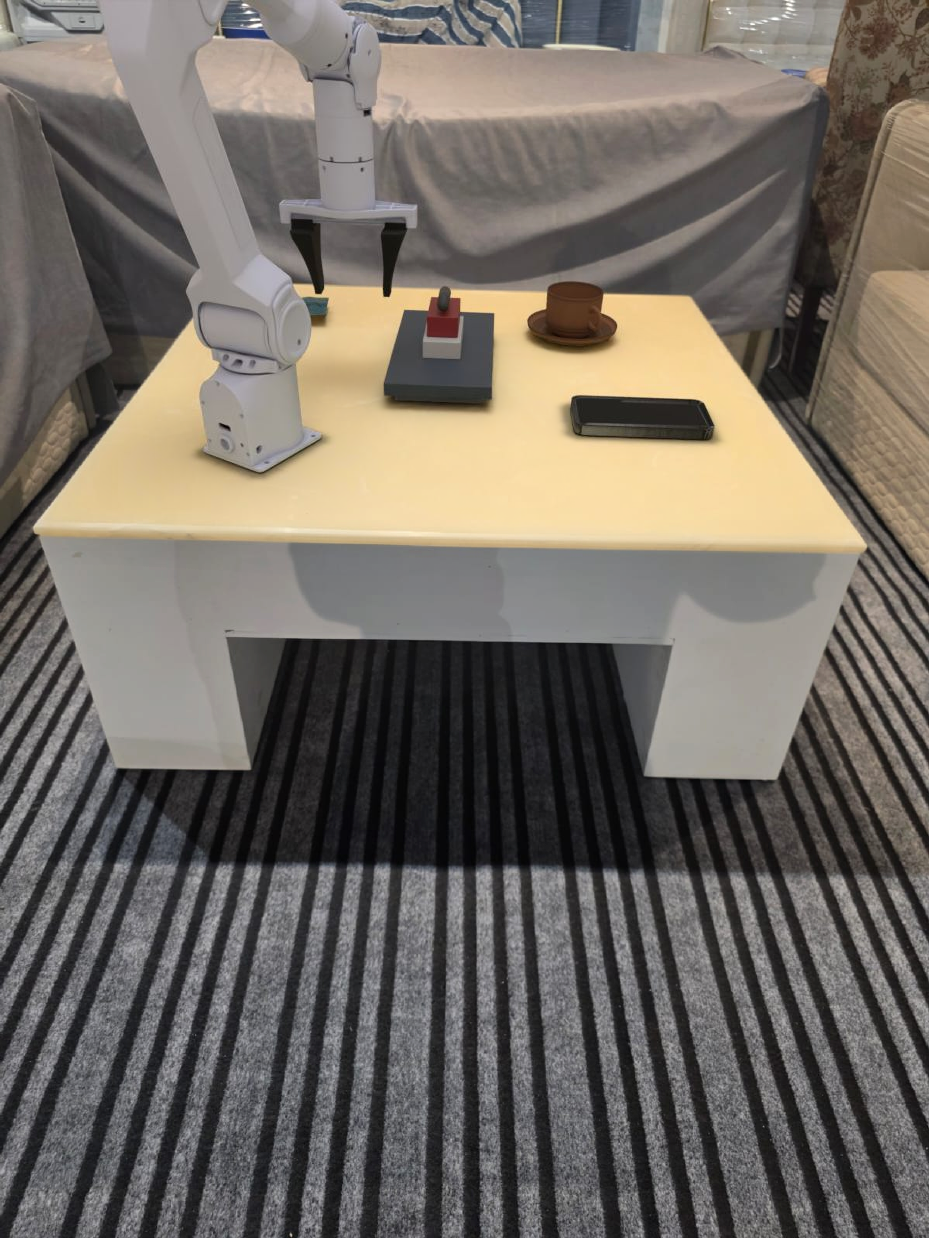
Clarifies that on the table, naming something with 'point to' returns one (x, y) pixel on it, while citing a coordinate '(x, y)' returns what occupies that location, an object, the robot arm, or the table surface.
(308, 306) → the terrain model
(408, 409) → the table surface
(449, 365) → the grey base platform
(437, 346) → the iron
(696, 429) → the phone
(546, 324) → the cup and saucer
